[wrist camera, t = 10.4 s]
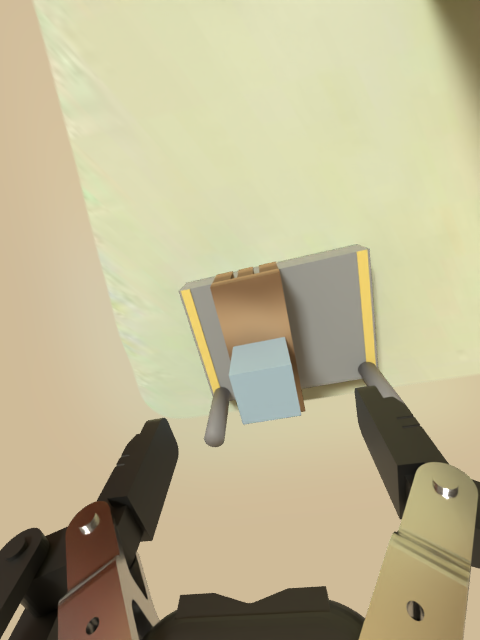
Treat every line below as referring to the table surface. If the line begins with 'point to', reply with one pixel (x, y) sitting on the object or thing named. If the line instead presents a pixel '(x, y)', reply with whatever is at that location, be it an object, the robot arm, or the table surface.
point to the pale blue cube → (263, 381)
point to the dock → (300, 327)
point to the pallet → (254, 311)
